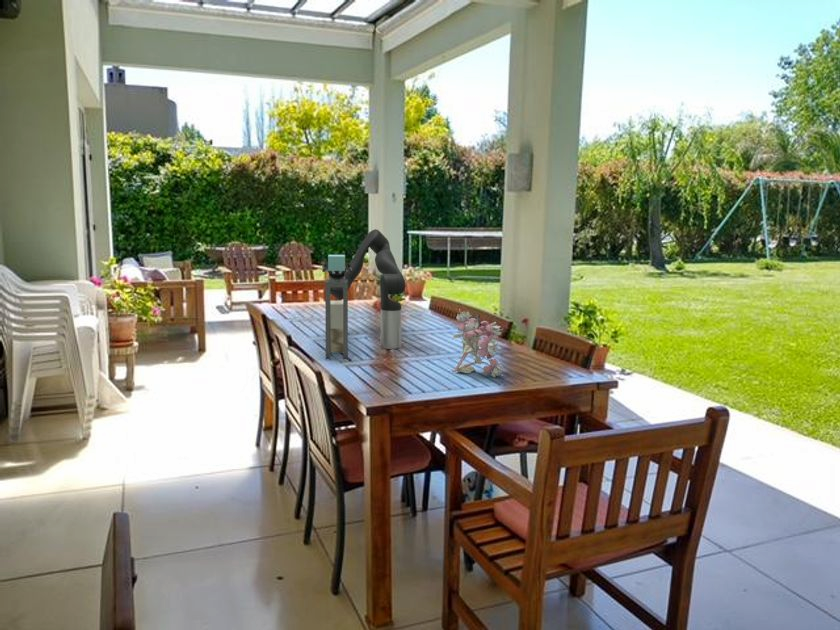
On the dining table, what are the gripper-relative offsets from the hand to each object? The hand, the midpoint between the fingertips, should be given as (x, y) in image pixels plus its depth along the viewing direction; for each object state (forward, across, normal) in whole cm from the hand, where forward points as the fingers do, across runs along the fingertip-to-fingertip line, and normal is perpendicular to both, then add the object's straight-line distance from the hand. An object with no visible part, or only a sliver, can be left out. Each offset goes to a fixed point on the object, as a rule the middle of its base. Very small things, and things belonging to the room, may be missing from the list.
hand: (336, 260), depth 287 cm
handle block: (+3, 0, +5) cm, 6 cm away
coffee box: (-9, +59, +40) cm, 72 cm away
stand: (-3, 0, +44) cm, 44 cm away
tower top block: (-10, 0, +28) cm, 29 cm away
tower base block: (-15, 0, +37) cm, 40 cm away
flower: (+27, +55, +61) cm, 86 cm away
